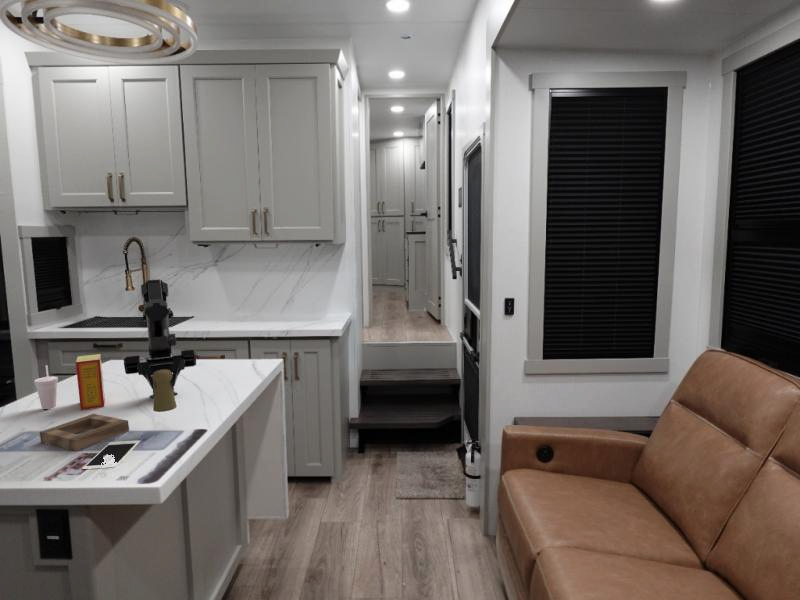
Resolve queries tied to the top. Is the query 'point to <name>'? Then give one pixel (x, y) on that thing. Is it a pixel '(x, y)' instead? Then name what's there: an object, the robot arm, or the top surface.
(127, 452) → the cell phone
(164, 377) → the cork
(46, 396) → the smoothie
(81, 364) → the baking soda box
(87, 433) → the walnut socket
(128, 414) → the top surface
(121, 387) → the top surface
